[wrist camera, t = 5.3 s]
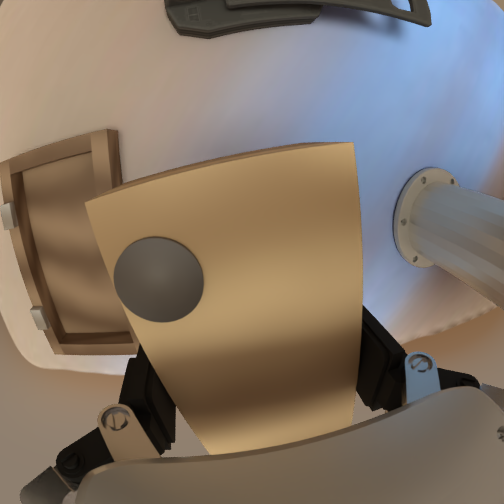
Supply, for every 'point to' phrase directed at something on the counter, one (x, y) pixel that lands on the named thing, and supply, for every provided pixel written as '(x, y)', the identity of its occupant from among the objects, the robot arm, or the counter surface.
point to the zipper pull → (272, 14)
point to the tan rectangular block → (245, 288)
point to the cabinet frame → (66, 242)
